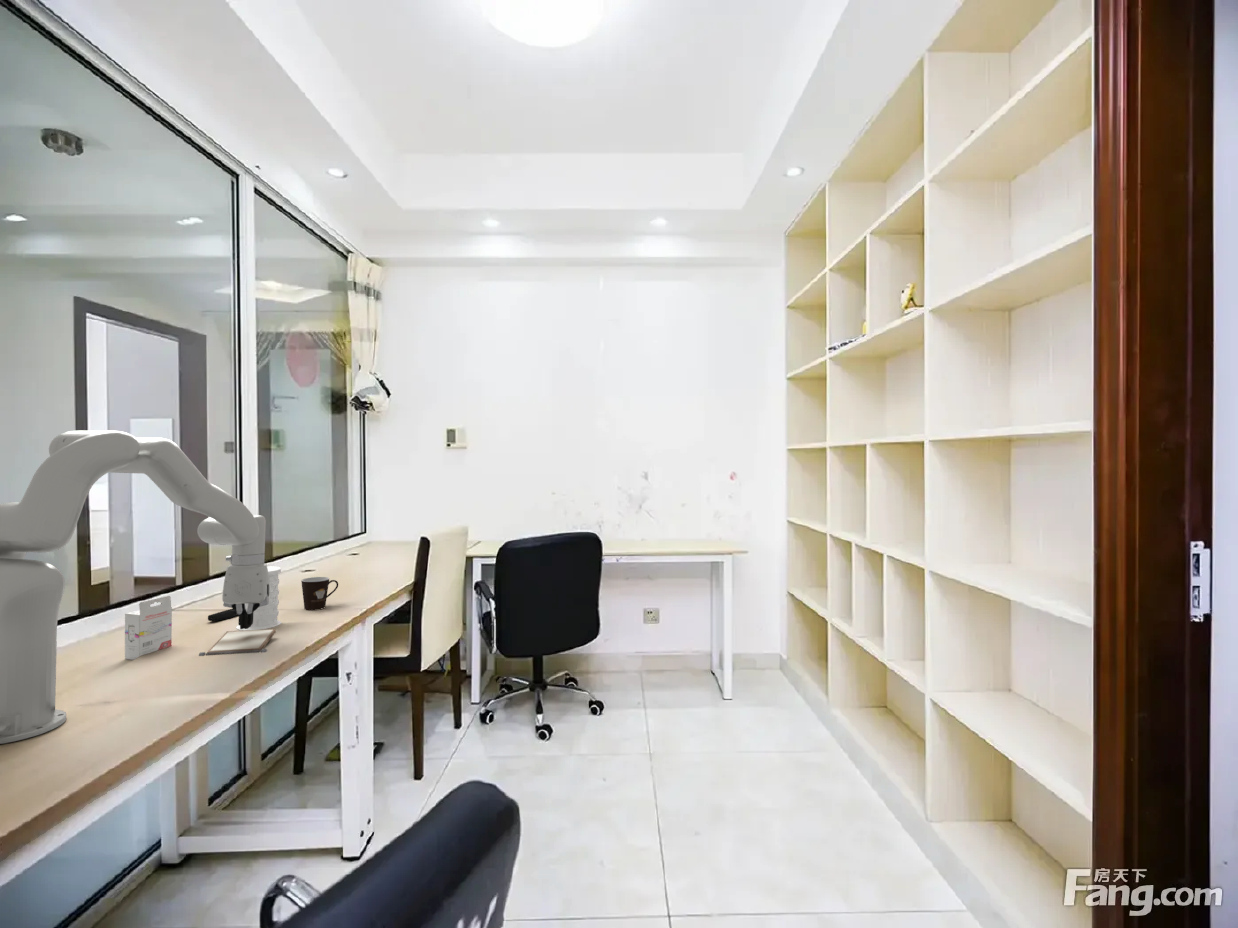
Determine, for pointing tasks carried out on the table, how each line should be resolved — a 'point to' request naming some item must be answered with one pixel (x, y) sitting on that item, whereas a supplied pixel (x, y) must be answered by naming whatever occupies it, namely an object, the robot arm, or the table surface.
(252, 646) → the flap
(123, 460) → the robot arm
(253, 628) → the decorative container
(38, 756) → the table surface
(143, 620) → the ink cartridge box
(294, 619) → the table surface
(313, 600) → the coffee mug
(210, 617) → the electric trimmer
